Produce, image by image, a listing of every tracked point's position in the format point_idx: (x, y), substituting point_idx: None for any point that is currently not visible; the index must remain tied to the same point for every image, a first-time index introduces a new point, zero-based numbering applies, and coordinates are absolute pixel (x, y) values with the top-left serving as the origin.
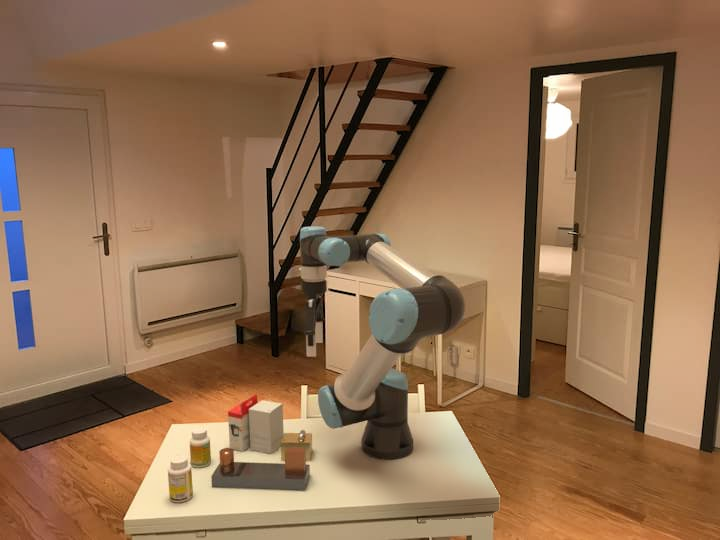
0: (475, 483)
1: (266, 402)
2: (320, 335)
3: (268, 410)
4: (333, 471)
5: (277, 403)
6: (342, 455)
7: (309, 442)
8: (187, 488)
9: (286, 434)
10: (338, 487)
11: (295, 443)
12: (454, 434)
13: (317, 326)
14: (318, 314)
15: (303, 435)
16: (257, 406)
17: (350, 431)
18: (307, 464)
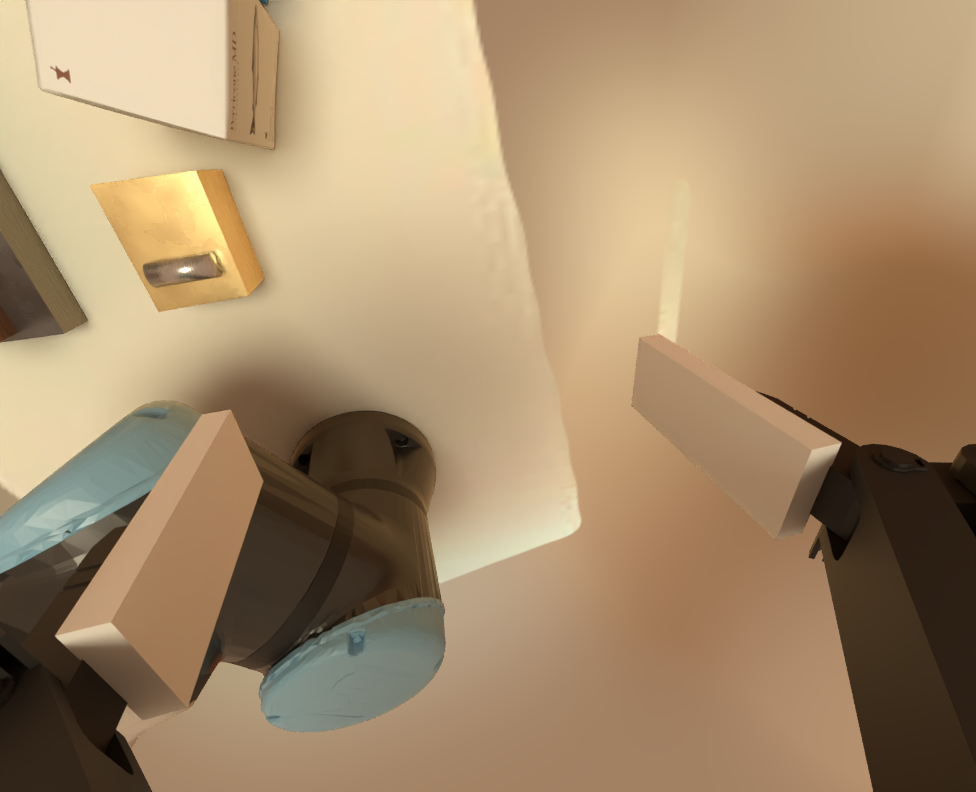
0: None
1: (191, 4)
2: (672, 427)
3: (65, 67)
4: (157, 381)
5: (209, 102)
6: (272, 378)
7: (161, 310)
8: None
9: (186, 187)
10: (69, 420)
11: (130, 253)
12: (469, 566)
13: (749, 459)
14: (865, 657)
15: (169, 283)
16: None
17: (438, 358)
18: (59, 326)
